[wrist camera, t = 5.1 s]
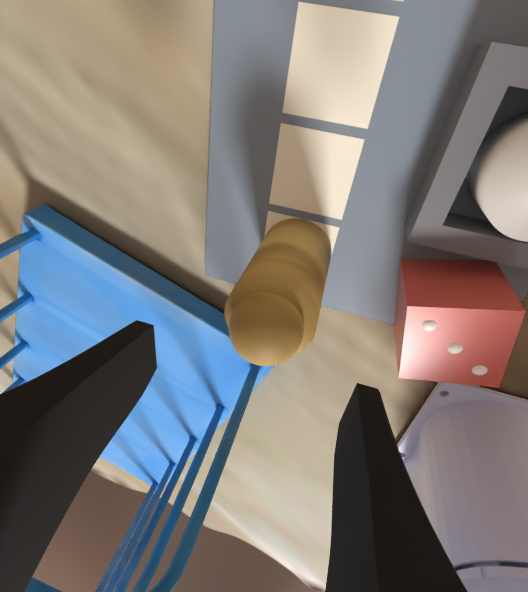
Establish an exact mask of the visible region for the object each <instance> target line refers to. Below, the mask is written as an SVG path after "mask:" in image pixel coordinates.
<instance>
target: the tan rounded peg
mask: <svg viewBox="0 0 528 592" xmlns="http://www.w3.org/2000/svg"><path fill="white" fill-rule="evenodd" d="M331 252H332V251H331V244H330V241H329V239H328V237H327V235H326V234H325V232H324V231H323V230H322V229H321V228H320V227H318V226H317V225H316V224H314V223H312V222H310V221H308V220H304V219H299V218H291V219H285V220H282V221H280V222H278V223H276V224H275V225H273V226H272V227H271V228H270V229H269V231H268V232H267V234H266V235H265V237H264V239H263V240H262V242H261V244H260V245H259V247H258V249H257V250H256V252H255V254H254V255H253V257H252V259H251V260H250V262H249V264H248V265H247V267H246V269H245V270H244V272H243V274H242V275H241V277H240V279H239V280H238V282H237V284H236V285H235V287H234V289H233V290H232V292H231V294H230V295H229V297H228V299H227V301H226V304H225V309H224V315H225V320H226V323H227V326H228V328H229V336H230V340H231V343H232V345H233V347H234V349H235V350H236V351H237V353H238V354H239V355H240V356H241V357H242V358H244V359H245V360H246V361H248V362H250V363H253V364H255V365H259V366H273V365H278V364H280V363H283V362H285V361H286V360H288V359H289V358H290V357H292V356H293V355H294V354H296V353H298V352H300V351H302V350H303V349H305V348H306V347H307V346H308V345H309V344H310V343H311V341H312V340H313V338H314V335H315V331H316V327H317V322H318V317H319V312H320V307H321V303H322V298H323V293H324V288H325V283H326V279H327V274H328V269H329V264H330V259H331Z"/></svg>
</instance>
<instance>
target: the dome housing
mask: <svg viewBox="0 0 528 592" xmlns="http://www.w3.org/2000/svg"><path fill="white" fill-rule="evenodd" d="M508 86H512V87H518V88H524V89H528V47H522V46H516V45H509V44H503V43H496V42H487V43H479V44H477V46H476V49H475V51H474V54H473V56H472V59H471V61H470V64H469V66H468V69H467V71H466V74H465V76H464V79H463V81H462V84H461V86H460V89H459V91H458V93H457V96H456V98H455V101H454V103H453V106H452V108H451V111H450V113H449V116H448V118H447V121H446V123H445V126H444V128H443V131H442V133H441V136H440V138H439V141H438V143H437V146H436V148H435V150H434V153H433V155H432V158H431V160H430V163H429V165H428V168H427V170H426V173H425V175H424V178H423V180H422V183H421V185H420V188H419V190H418V193H417V195H416V198H415V200H414V202H413V205H412V207H411V210H410V212H409V215H408V217H407V220H406V222H405V225H404V226H405V232H406V237H407V242H410V243H414V244H419V245H423V246H427V247H432V248H436V249H441V250H445V251H449V252H454V253H458V254H462V255H467V256H471V257H475V258H480V259H484V260H489V261H493V262H497V263H502V264H506V265H510V266H515V267H519V268H523V269H528V242H525V241H519V240H516V239H512V238H510V237H508V236H506V235H504V234H502V233H501V232H499V231H498V230H497V229H496V228H495V227H494V226H493V225H492V224H491V222H490V221H487V220H482V219H478V218H473V217H468V216H464V215H459V214H454V213H450V212H449V210H450V208H451V206H452V204H453V202H454V200H455V198H456V196H457V194H458V191H459V189H460V187H461V185H462V183H463V181H464V179H465V177H466V175H467V172H468V170H469V168H470V166H471V164H472V162H473V160H474V158H475V156H476V153H477V151H478V149H479V147H480V145H481V143H482V141H483V139H484V137H485V135H486V132H487V130H488V128H489V126H490V124H491V122H492V120H493V118H494V116H495V113H496V111H497V109H498V107H499V105H500V103H501V101H502V99H503V97H504V94H505V92H506V90H507V88H508Z"/></svg>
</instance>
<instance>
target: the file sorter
mask: <svg viewBox="0 0 528 592" xmlns="http://www.w3.org/2000/svg"><path fill="white" fill-rule="evenodd" d="M18 249H20V263H19V279H18V293H17V300H15V301H13V302H12V303H10V304H9V305H7V306H6V307H4V308H3V309H1V310H0V322H2V321H3V320H4V319H6V318H7V317H9V316H10V315H12V314H13V313H15V312H16V328H15V345H14V348H12V349H11V350H10V351H8V352H7V353H6V354H5V355H3V356H2V357H1V358H0V369H1V368H2V367H3V366H4V365H6V364H7V363H8V362H9V361H11V360H12V359H13V358H14V366H13V384H12V385H11V386H10V387H8V388H7V389H6V390H5V391H4V392H7V391H9V390H11V389H13V388H15V387H18V386H20V385H22V384H24V383H26V382H28V381H30V380H32V379H34V378H36V377H38V376H40V375H42V374H44V373H46V372H47V371H49V370H51V369H53V368H55V367H57V366H59V365H61V364H62V363H64V362H66V361H68V360H70V359H72V358H73V357H75V356H77V355H78V354H80V353H82V352H84V351H85V350H87V349H89V348H91V347H92V346H94V345H96V344H97V343H99V342H101V341H102V340H104V339H106V338H107V337H109V336H111V335H112V334H114V333H116V332H117V331H119V330H121V329H122V328H124V327H126V326H127V325H129V324H131V323H132V322H134V321H136V320H138V321H142V322H145V323H149V324H152V325H154V335H155V348H156V361H157V369H156V371H155V373H154V375H153V377H152V379H151V381H150V383H149V384H148V386H147V388H146V390H145V392H144V393H143V395H142V397H141V398H140V400H139V401H138V403H137V404H136V405H135V407H134V408H133V410H132V411H131V413H130V414H129V415H128V417H127V418H126V420H125V421H124V423H123V424H122V425H121V427H120V428H119V430H118V431H117V432H116V434H115V435H114V437H113V438H112V439H111V441H110V442H109V444H108V445H107V446H106V448H105V449H104V451H103V452H102V453H101V455H100V456H99V457H100V458H102V459H104V460H106V461H107V462H109V463H111V464H113V465H115V466H117V467H118V468H120V469H122V470H124V471H126V472H127V473H129V474H131V475H133V476H135V477H137V478H139V479H141V480H142V481H144V482H146V483H148V484H149V485H151V488H150V490H149V492H148V493H147V495H146V497H145V499H144V501H143V503H142V505H141V507H140V509H139V511H138V512H137V514H136V516H135V518H134V520H133V522H132V524H131V526H130V528H129V529H128V531H127V533H126V535H125V537H124V539H123V541H122V543H121V545H120V547H119V548H118V550H117V552H116V554H115V556H114V558H113V560H112V561H111V563H110V565H109V567H108V569H107V571H106V573H105V574H104V576H103V578H102V580H101V582H100V584H99V585H98V587H97V589H96V591H95V592H102V591H103V590H104V588H105V586H106V584H107V582H108V580H109V578H110V576H111V574H112V573H113V571H114V569H115V567H116V565H117V563H118V561H119V559H120V557H121V555H122V553H123V551H124V549H125V548H126V545H127V544H128V542H129V540H130V538H131V536H132V534H133V532H134V530H135V528H136V526H137V524H138V522H139V521H140V519H141V517H142V515H143V513H144V511H145V509H146V507H147V505H148V503H149V501H150V499H151V497H152V495H153V493H154V491H155V490H156V491H155V493H154V495H153V497H152V499H151V501H150V503H149V505H148V507H147V509H146V511H145V513H144V515H143V517H142V519H141V521H140V523H139V525H138V527H137V529H136V531H135V533H134V535H133V537H132V538H131V540H130V542H129V544H128V546H127V548H126V550H125V552H124V554H123V556H122V558H121V560H120V562H119V564H118V566H117V567H116V570H115V571H114V573H113V575H112V577H111V580H110V582H109V584H108V586H107V588H106V590H105V592H113V591H114V589H115V587H116V585H117V587H116V590H115V592H125V590H126V588H127V586H128V584H129V582H130V580H131V578H132V576H133V574H134V572H135V570H136V568H137V566H138V563H139V562H140V560H141V558H142V555H143V553H144V551H145V549H146V547H147V545H148V543H149V540H150V538H151V536H152V534H153V532H154V530H155V528H156V526H157V524H158V522H159V519H160V517H161V515H162V513H163V511H164V509H165V507H166V505H167V503H168V500H169V498H170V496H171V494H172V492H173V489H174V487H175V485H176V483H177V481H178V479H179V477H180V475H181V473H182V470H183V468H184V466H185V464H186V462H187V461H188V460H189V459H190V458H191V457H192V456H193V455H194V454H195V452H196V451H197V453H196V455H195V457H194V459H193V462H192V464H191V466H190V468H189V470H188V473H187V475H186V478H185V480H184V482H183V484H182V487H181V489H180V491H179V493H178V495H177V498H176V500H175V502H174V505H173V507H172V509H171V512H170V514H169V516H168V519H167V521H166V523H165V525H164V527H163V529H162V532H161V534H160V536H159V538H158V541H157V543H156V545H155V547H154V549H153V552H152V554H151V556H150V558H149V561H148V563H147V565H146V567H145V569H144V571H143V573H142V575H141V577H140V579H139V581H138V582H137V584H136V586H135V588H134V590H133V592H146V590H147V588H148V586H149V584H150V582H151V580H152V578H153V576H154V574H155V571H156V569H157V567H158V565H159V563H160V560H161V558H162V556H163V553H164V551H165V549H166V546H167V544H168V542H169V539H170V537H171V535H172V532H173V530H174V528H175V525H176V523H177V521H178V518H179V516H180V514H181V511H182V509H183V507H184V504H185V502H186V499H187V497H188V495H189V492H190V490H191V488H192V485H193V483H194V480H195V478H196V476H197V473H198V471H199V469H200V466H201V464H202V461H203V459H204V457H205V454H206V452H207V449H208V447H209V444H210V442H211V439H212V437H213V435H214V432H215V431H216V430H217V429H218V427H219V426H220V425H221V424H222V423H223V422H224V421H225V420H226V419H227V418H228V417H229V415H230V414H231V413H232V412H233V413H232V415H231V418H230V420H229V423H228V425H227V428H226V430H225V433H224V435H223V438H222V440H221V443H220V445H219V448H218V450H217V453H216V455H215V458H214V460H213V463H212V465H211V468H210V470H209V473H208V475H207V478H206V480H205V483H204V485H203V488H202V490H201V493H200V495H199V498H198V500H197V503H196V505H195V508H194V510H193V512H192V515H191V517H190V520H189V522H188V524H187V527H186V529H185V532H184V534H183V536H182V539H181V541H180V543H179V546H178V548H177V550H176V552H175V555H174V557H173V559H172V561H171V563H170V565H169V568H168V569H167V571H166V573H165V574H164V576H163V577H162V578H161V580H160V581H159V583H158V584H157V585H156V586H155V587H154V588H153V589H152V590H151V591H150V592H171V591H172V590H173V588H174V586H175V585H176V583H177V582H178V580H179V579H180V577H181V575H182V573H183V571H184V569H185V566H186V564H187V562H188V559H189V557H190V555H191V552H192V550H193V547H194V545H195V542H196V540H197V537H198V534H199V532H200V529H201V526H202V524H203V521H204V519H205V516H206V514H207V511H208V508H209V506H210V503H211V501H212V498H213V495H214V492H215V490H216V487H217V484H218V482H219V479H220V476H221V474H222V471H223V468H224V466H225V463H226V460H227V458H228V455H229V452H230V450H231V447H232V444H233V441H234V439H235V436H236V433H237V430H238V428H239V425H240V422H241V420H242V417H243V414H244V411H245V409H246V406H247V403H248V401H249V398H250V395H251V392H252V390H253V389H254V388H255V387H256V386H257V385H258V384H259V383H260V382H261V381H262V380H263V378H264V377H265V376H266V375H267V374H268V373H269V372H270V371H271V370H272V369H273V367H274V366H275V365H273V366H259V365H255V364H253V363H250V362H248V361H246V360H245V359H244V358H242V357H241V356H240V355H239V354H238V353H237V351H236V350H235V349H234V347H233V345H232V343H231V340H230V336H229V328H228V326H227V323H226V320H225V315H224V314H223V313H222V312H220V311H218V310H217V309H215V308H213V307H212V306H210V305H208V304H207V303H205V302H203V301H202V300H200V299H199V298H197V297H195V296H194V295H192V294H190V293H189V292H187V291H185V290H184V289H182V288H180V287H179V286H177V285H176V284H174V283H172V282H171V281H169V280H167V279H166V278H164V277H162V276H161V275H159V274H157V273H156V272H154V271H153V270H151V269H149V268H148V267H146V266H144V265H143V264H141V263H139V262H138V261H136V260H134V259H133V258H131V257H129V256H128V255H126V254H125V253H123V252H121V251H120V250H118V249H116V248H115V247H113V246H111V245H110V244H108V243H106V242H105V241H103V240H101V239H100V238H98V237H97V236H95V235H93V234H92V233H90V232H88V231H87V230H85V229H84V228H82V227H80V226H79V225H77V224H75V223H74V222H72V221H71V220H69V219H67V218H66V217H64V216H62V215H61V214H59V213H57V212H56V211H54V210H53V209H51V208H50V207H48V206H47V205H41V206H39V207H37V208H35V209H33V210H31V211H29V212H26V213H25V214H23V217H22V232H21V234H20V235H18V236H16V237H14V238H12V239H10V240H8V241H6V242H3V243H1V244H0V259H1V258H3V257H5V256H7V255H9V254H10V253H12V252H14V251H16V250H18ZM4 392H3V393H4ZM168 482H169V483H168ZM167 483H168V485H167V487H166V489H165V491H164V493H163V495H162V497H161V499H160V501H159V503H158V505H157V507H156V510H155V512H154V514H153V516H152V518H151V520H150V522H149V524H148V526H147V528H146V530H145V532H144V534H143V536H142V538H141V540H140V542H139V543H138V545H137V547H136V549H135V552H134V553H133V555H132V557H131V560H130V562H129V564H128V565H127V567H126V569H125V571H124V573H123V575H122V577H121V579H120V581H119V583H118V580H119V578H120V576H121V574H122V572H123V570H124V568H125V566H126V564H127V562H128V560H129V558H130V556H131V554H132V552H133V550H134V548H135V546H136V544H137V542H138V540H139V538H140V536H141V534H142V532H143V530H144V528H145V526H146V524H147V522H148V520H149V518H150V516H151V514H152V512H153V510H154V507H155V505H156V503H157V501H158V499H159V497H160V495H161V493H162V491H163V489H164V487H165V485H166V484H167ZM156 488H157V489H156ZM117 583H118V584H117ZM25 592H62V591H60V590H57V589H56V588H53V587H51V586H49V585H47V584H45V583H43V582H41V581H39V580H37V579H35V578H31V580H30V582H29V584H28V586H27V588H26V590H25Z"/></svg>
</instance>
